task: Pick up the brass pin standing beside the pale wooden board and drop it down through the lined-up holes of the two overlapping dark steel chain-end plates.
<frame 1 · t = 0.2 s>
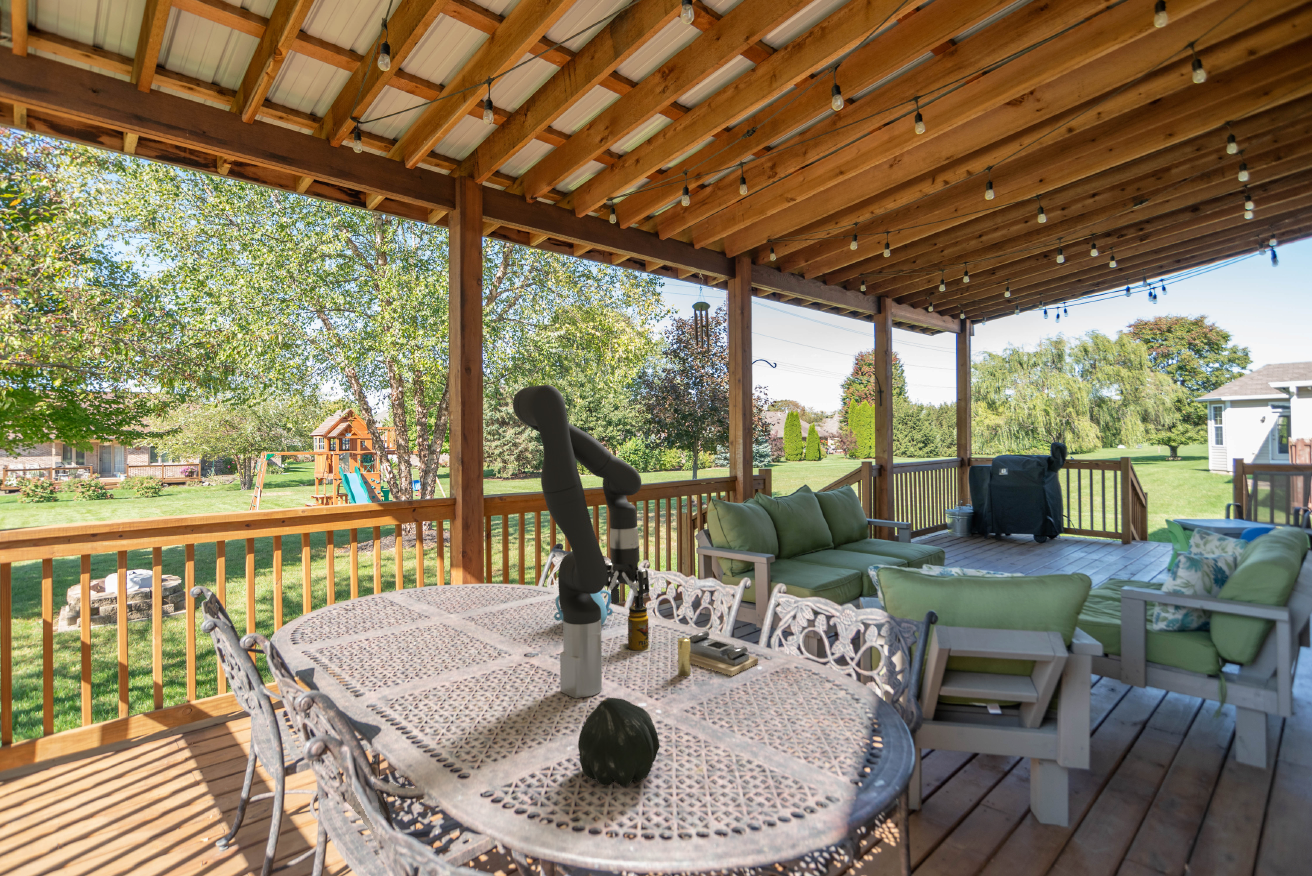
hand: (627, 606, 158), 18 cm above the table, tool pointing down, fingers open, 8 cm apart
chain ends: (718, 661, 166), on the table
decorative pot: (584, 626, 200), on the table
brass pin: (684, 674, 157), on the table
squash: (619, 775, 110), on the table
condiment: (635, 648, 178), on the table
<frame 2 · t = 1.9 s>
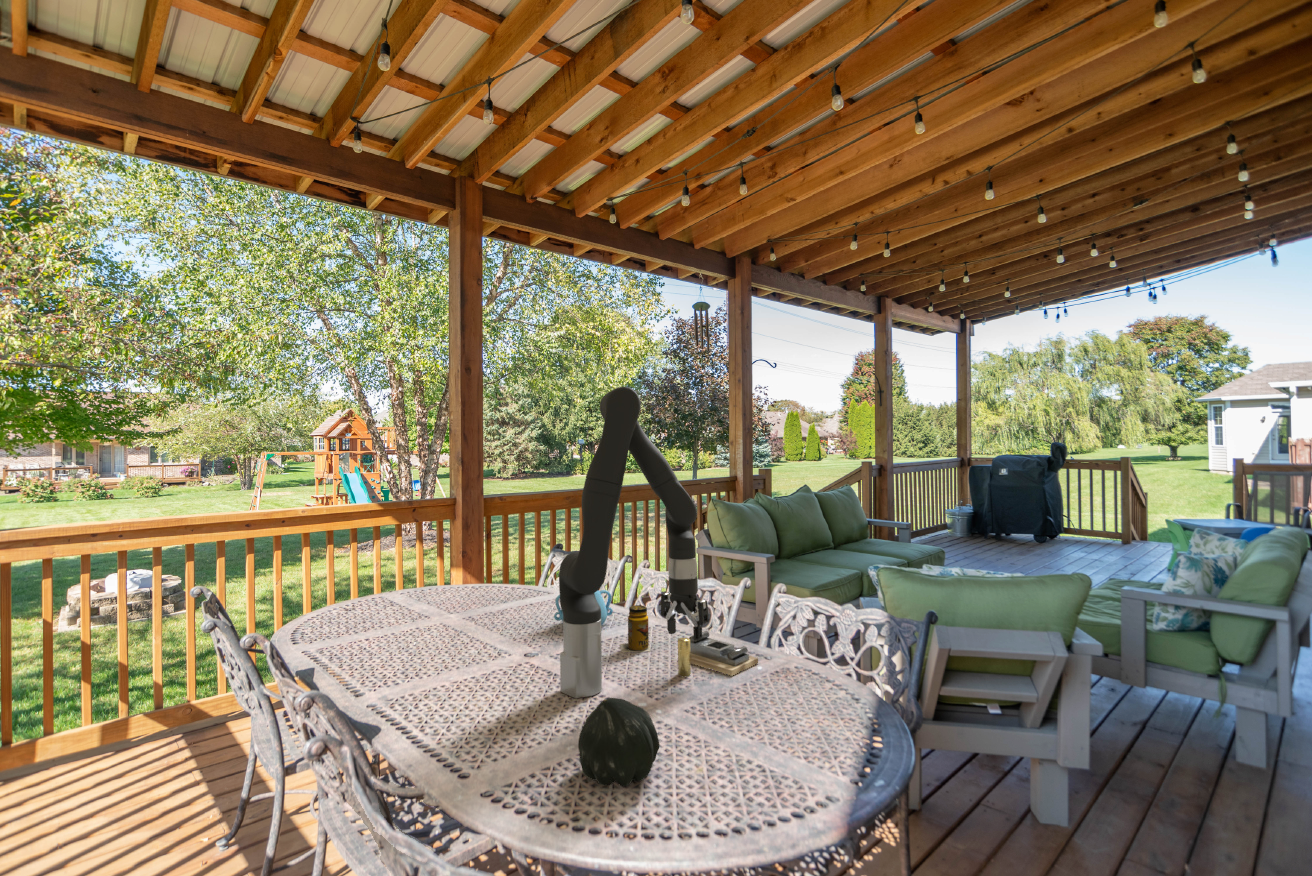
hand: (684, 636, 158), 10 cm above the table, tool pointing down, fingers open, 8 cm apart
nothing on the table moved.
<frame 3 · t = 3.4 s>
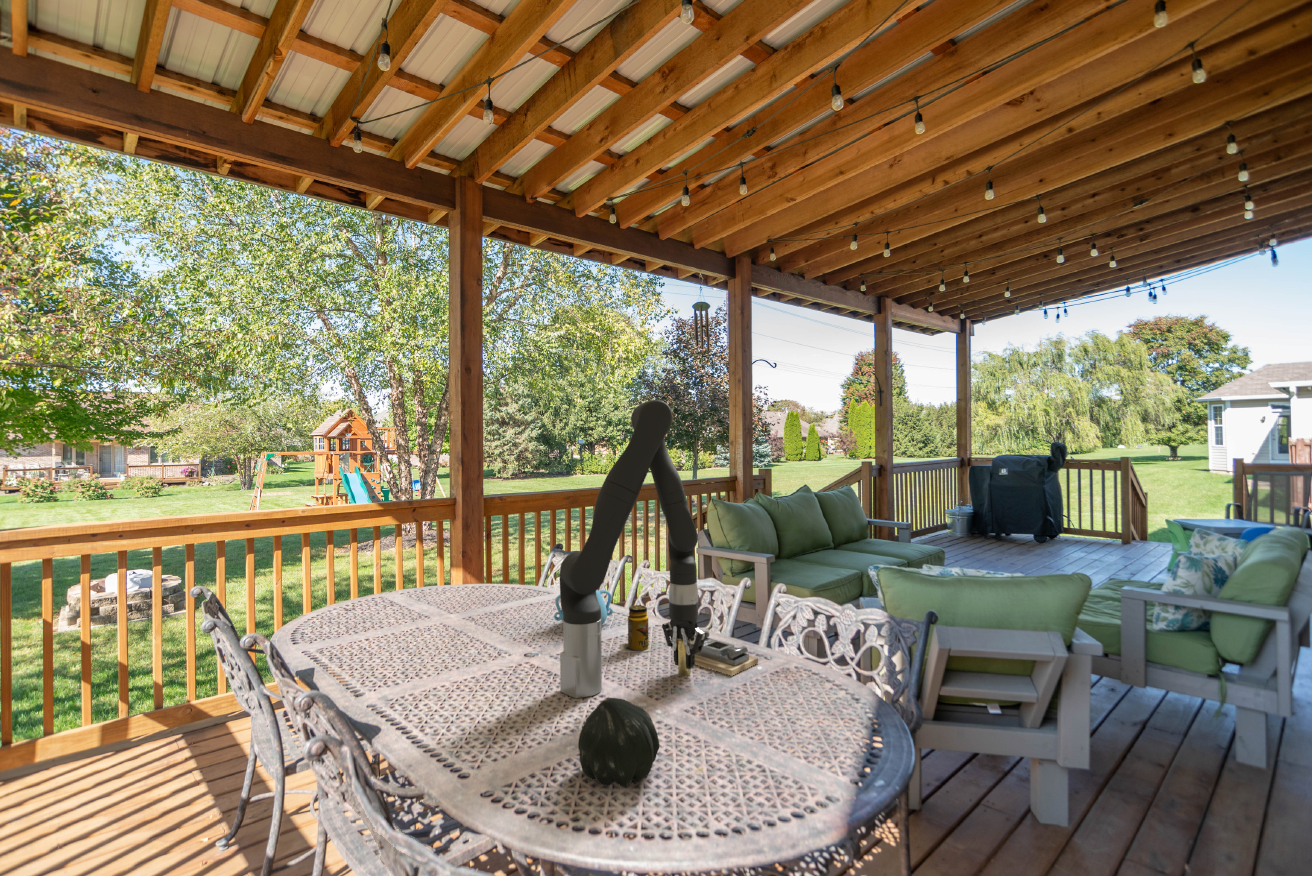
hand: (684, 665, 157), 2 cm above the table, tool pointing down, fingers closed on brass pin, 3 cm apart
brass pin: (684, 674, 157), on the table, touching gripper
everything else where it was.
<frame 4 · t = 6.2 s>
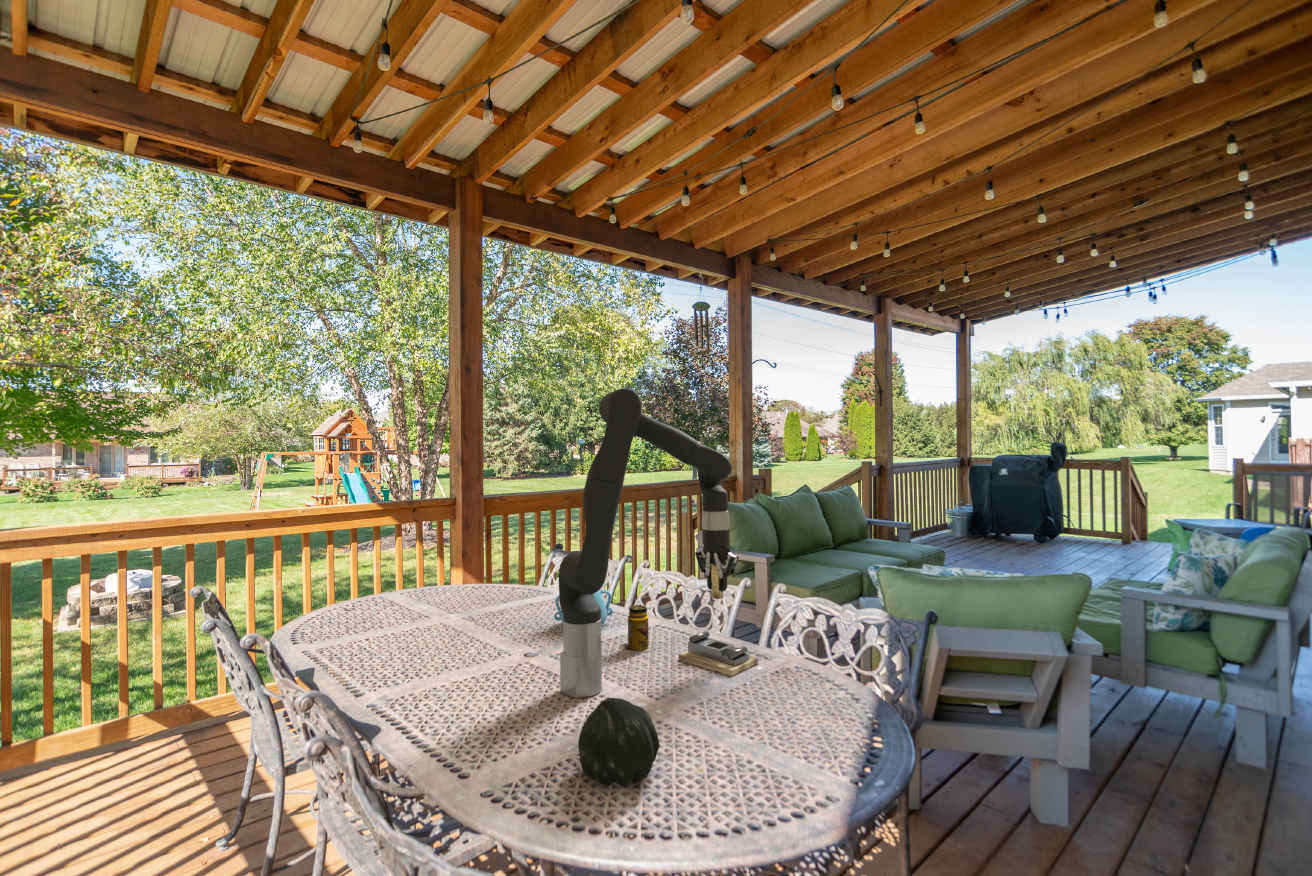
hand: (717, 589, 166), 20 cm above the table, tool pointing down, fingers closed on brass pin, 3 cm apart
brass pin: (717, 597, 166), point 18 cm above the table, touching gripper
everything else where it was.
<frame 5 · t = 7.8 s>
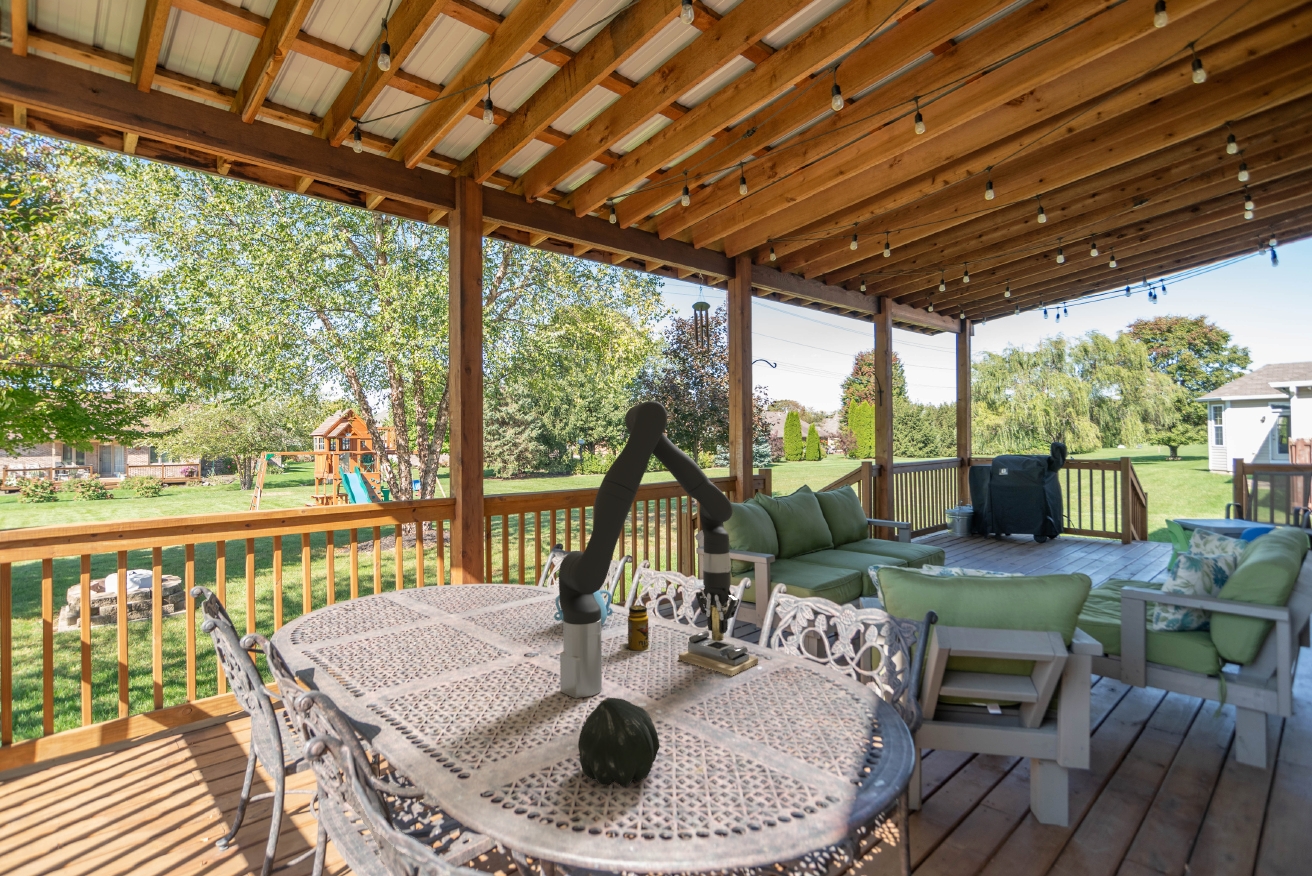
hand: (717, 631, 166), 8 cm above the table, tool pointing down, fingers closed on brass pin, 3 cm apart
brass pin: (717, 639, 166), point 6 cm above the table, touching gripper
everything else where it was.
when the fingers open (6 cm above the table, at t = 9.0 s): brass pin drops 2 cm, resting on chain ends.
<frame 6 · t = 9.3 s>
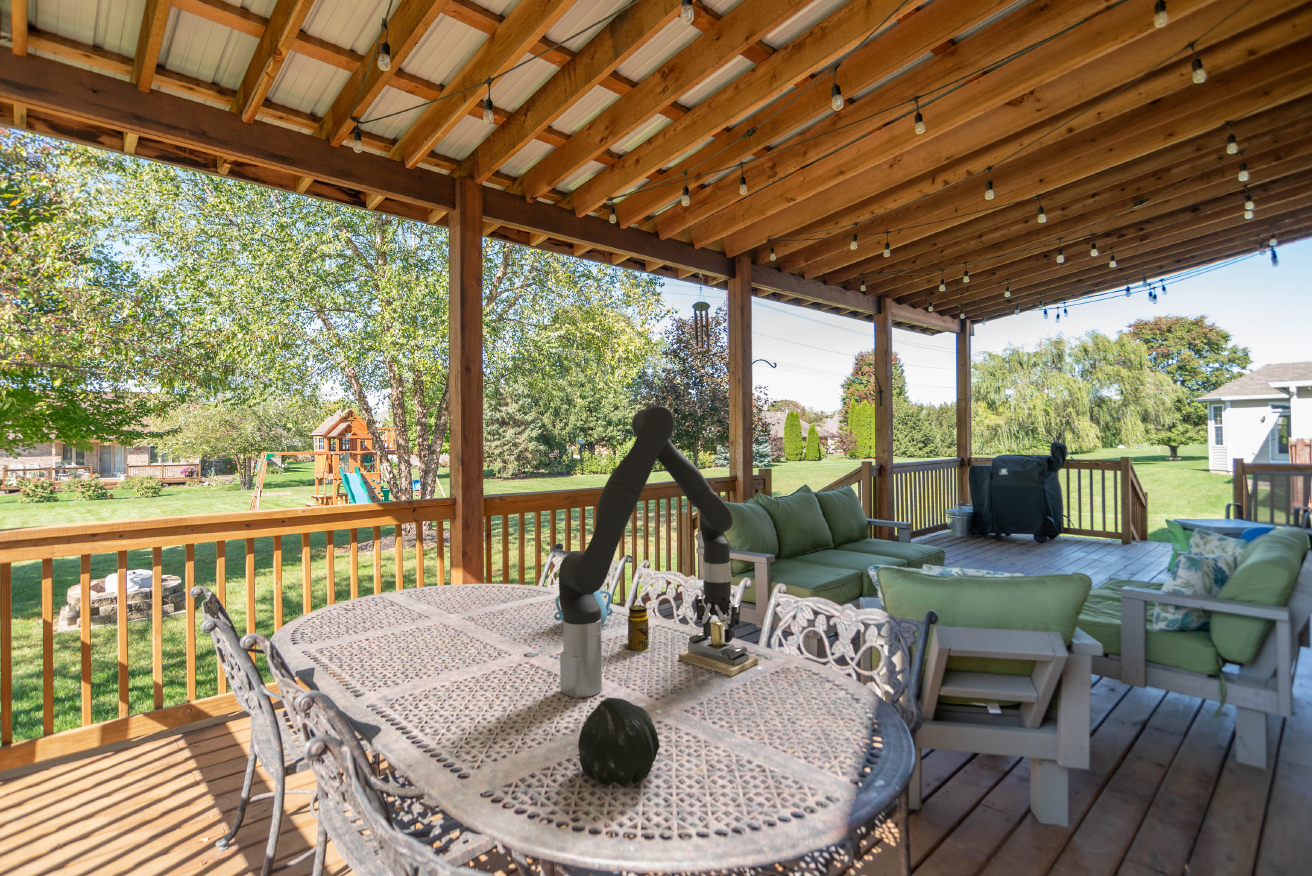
hand: (717, 639, 166), 6 cm above the table, tool pointing down, fingers open, 6 cm apart
brass pin: (717, 655, 166), point 2 cm above the table, touching chain ends
everything else where it was.
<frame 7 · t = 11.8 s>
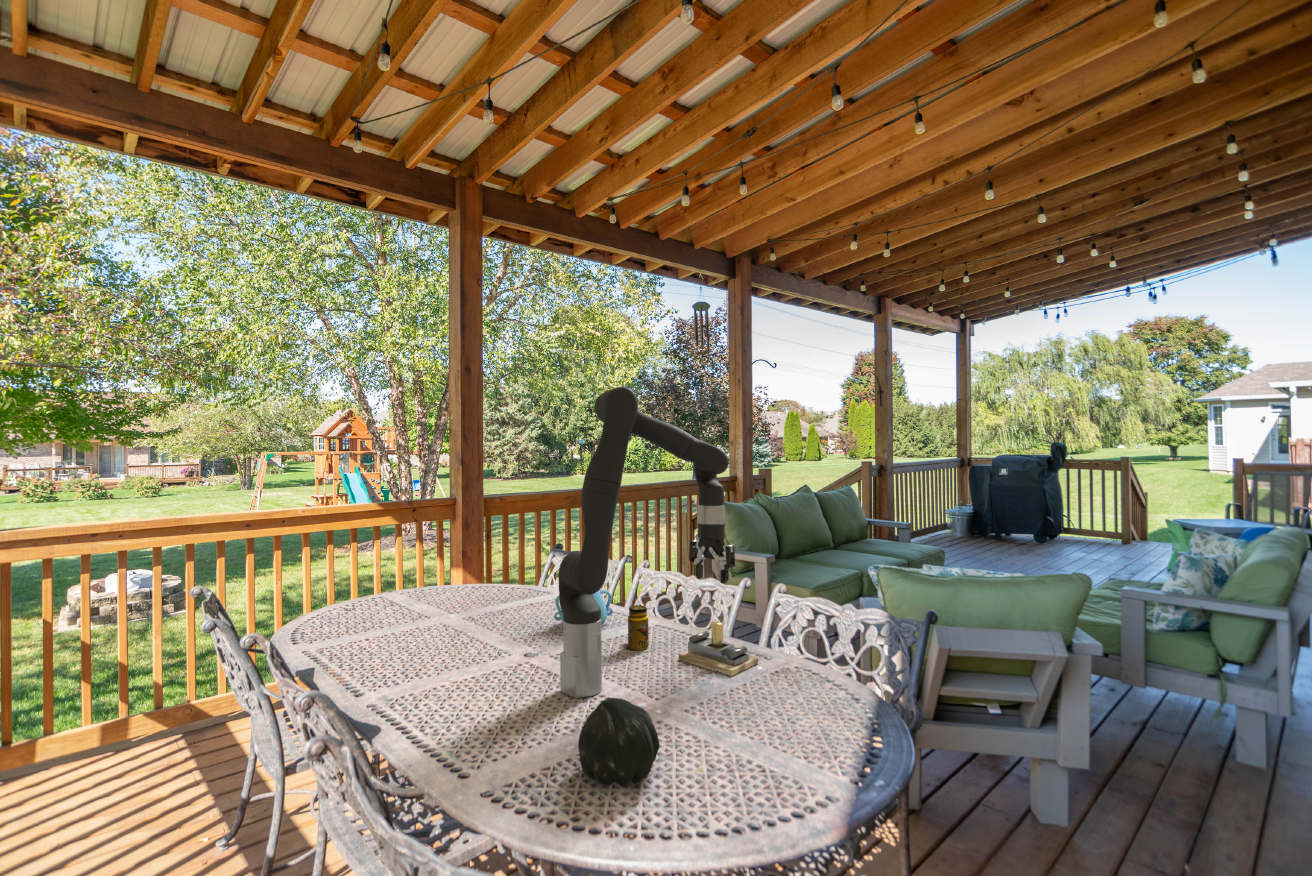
hand: (711, 580, 167), 22 cm above the table, tool pointing down, fingers open, 8 cm apart
nothing on the table moved.
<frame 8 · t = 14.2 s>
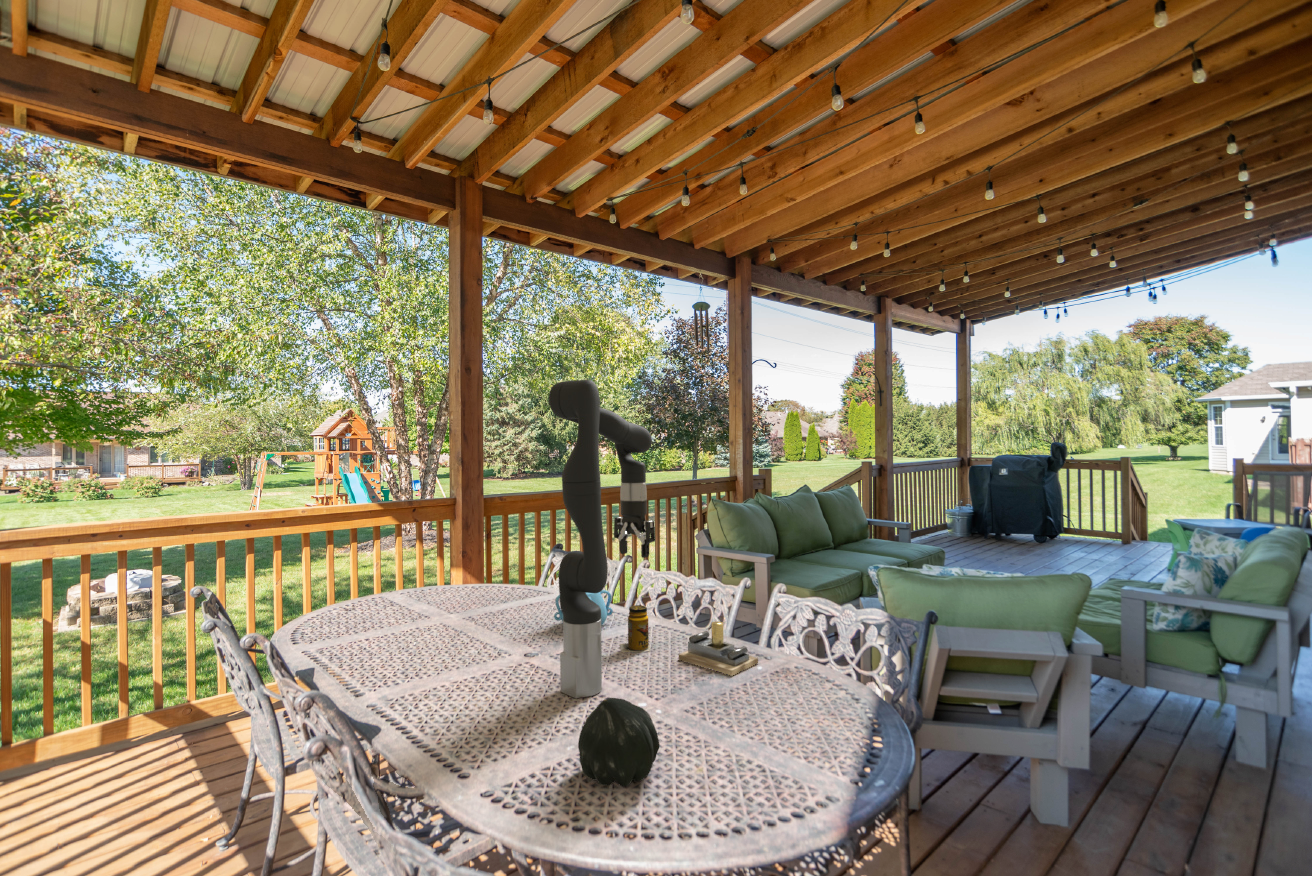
hand: (634, 555, 173), 28 cm above the table, tool pointing down, fingers open, 8 cm apart
nothing on the table moved.
at the end: brass pin 0.1 cm off-centre on the chain ends, point 1.5 cm above the chain ends's base; brass pin tilted 0°; the gripper is holding nothing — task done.
